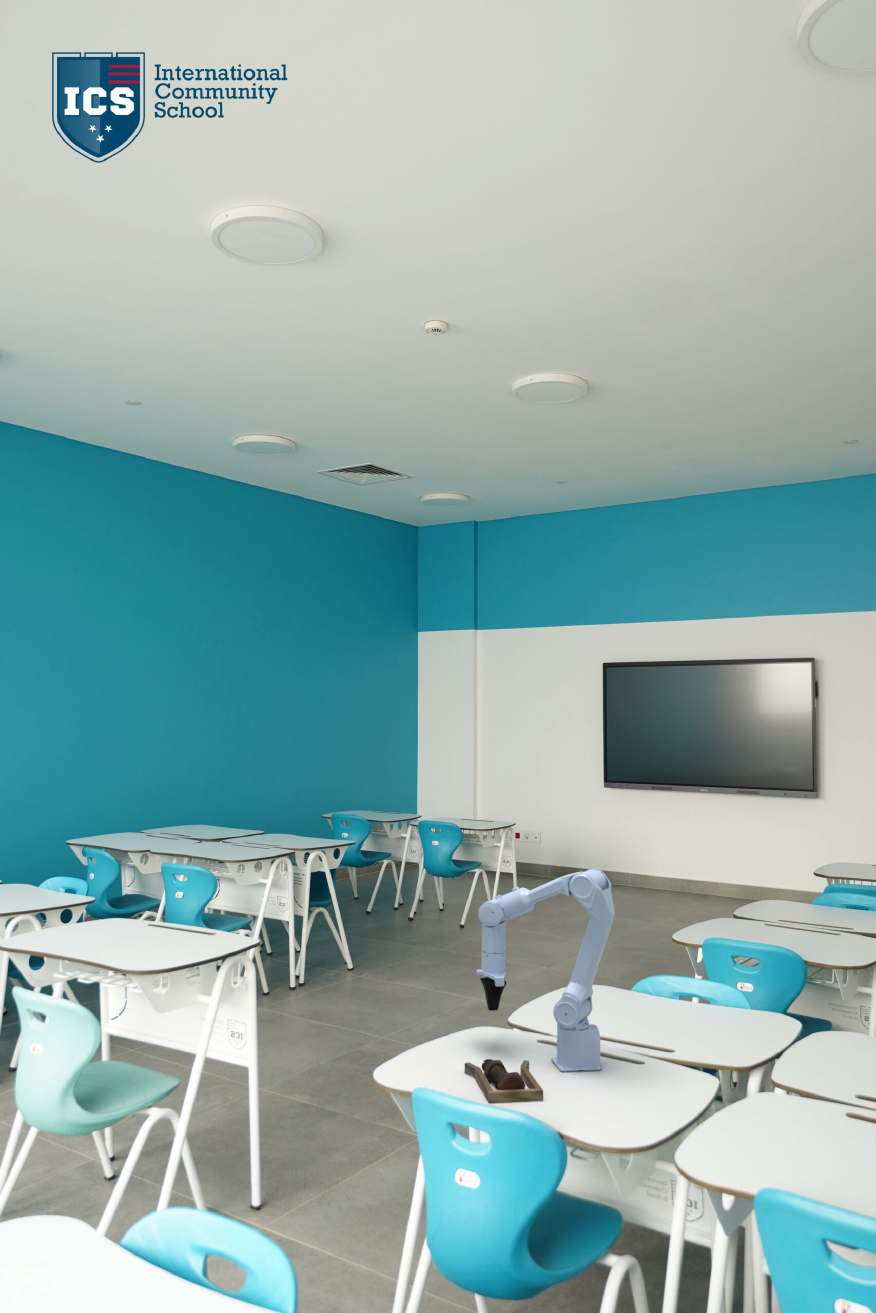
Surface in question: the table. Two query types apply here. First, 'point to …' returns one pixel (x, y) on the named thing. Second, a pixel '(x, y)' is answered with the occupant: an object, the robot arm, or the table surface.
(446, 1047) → the table surface
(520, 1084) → the bolt
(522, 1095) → the frame
